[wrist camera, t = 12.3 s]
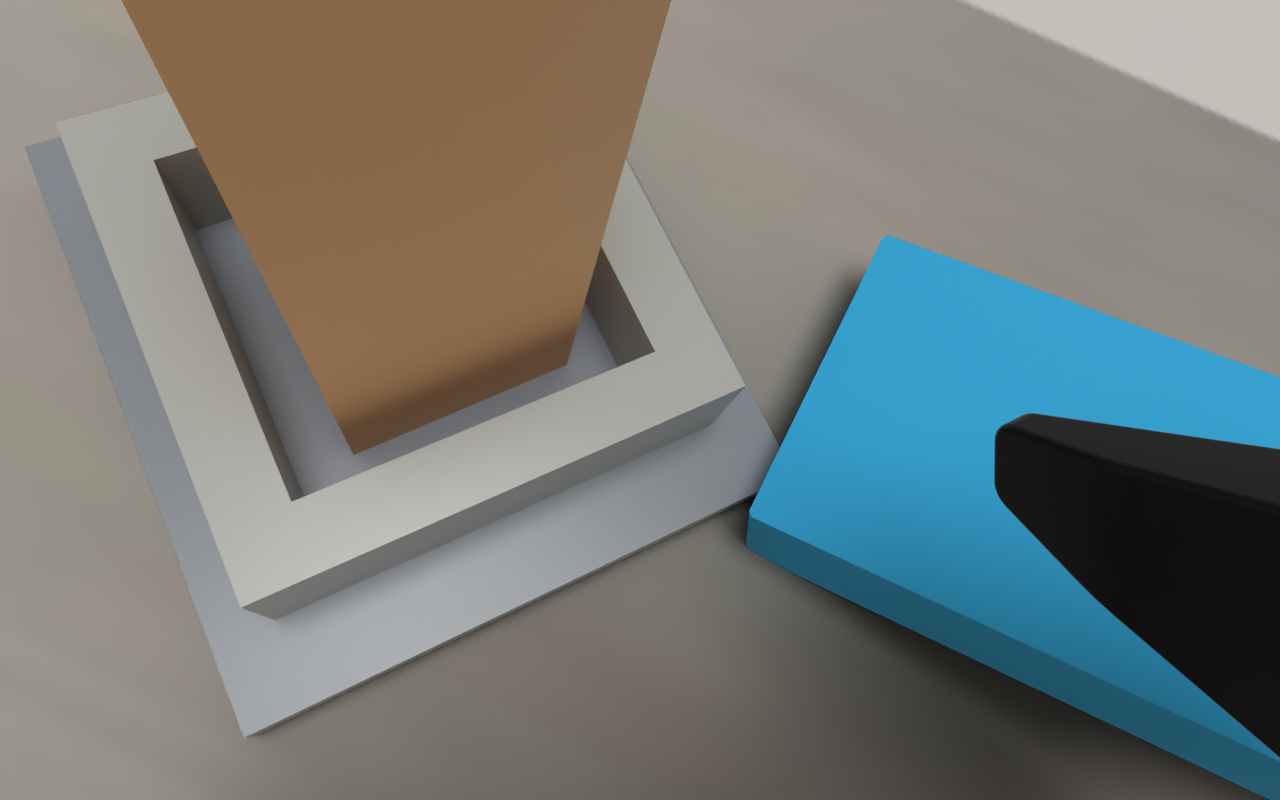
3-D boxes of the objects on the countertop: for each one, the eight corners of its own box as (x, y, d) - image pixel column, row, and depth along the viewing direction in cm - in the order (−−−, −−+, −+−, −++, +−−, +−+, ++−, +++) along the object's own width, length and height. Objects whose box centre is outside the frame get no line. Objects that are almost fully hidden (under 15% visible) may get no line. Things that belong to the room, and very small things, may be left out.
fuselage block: (566, 364, 18) (755, -294, 6) (353, 454, 17) (45, -147, 5) (475, 182, 19) (476, -717, 7) (265, 255, 18) (-186, -685, 6)
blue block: (738, 599, 23) (1541, 993, 19) (746, 514, 17) (1965, 1079, 12) (842, 380, 26) (1579, 682, 21) (884, 234, 19) (1950, 620, 15)
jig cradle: (778, 484, 19) (841, 442, 16) (257, 735, 16) (202, 746, 13) (541, 31, 22) (553, -87, 18) (47, 174, 19) (-45, 64, 15)
